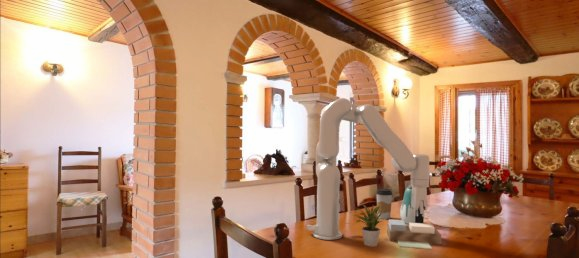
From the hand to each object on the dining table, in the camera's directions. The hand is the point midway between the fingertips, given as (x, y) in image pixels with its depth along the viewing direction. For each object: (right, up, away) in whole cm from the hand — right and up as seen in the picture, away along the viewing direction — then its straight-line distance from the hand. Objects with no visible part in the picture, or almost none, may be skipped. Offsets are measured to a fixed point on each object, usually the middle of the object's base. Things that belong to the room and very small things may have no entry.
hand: (419, 225), depth 149 cm
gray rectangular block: (-10, -1, -1) cm, 10 cm away
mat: (-6, -5, -11) cm, 14 cm away
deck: (-4, -5, -2) cm, 7 cm away
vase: (+5, -6, +24) cm, 25 cm away
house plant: (-23, -5, -9) cm, 26 cm away
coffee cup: (-6, -6, +34) cm, 35 cm away
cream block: (-1, -1, -5) cm, 5 cm away
